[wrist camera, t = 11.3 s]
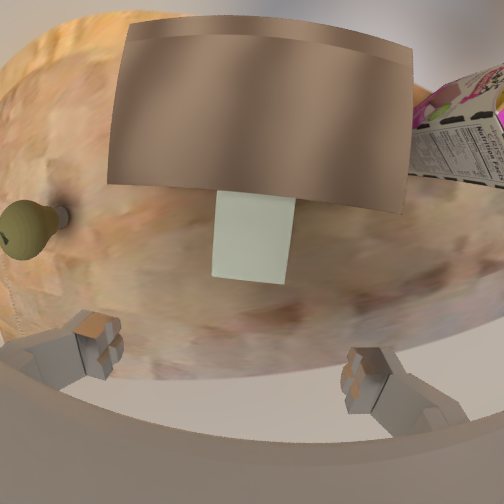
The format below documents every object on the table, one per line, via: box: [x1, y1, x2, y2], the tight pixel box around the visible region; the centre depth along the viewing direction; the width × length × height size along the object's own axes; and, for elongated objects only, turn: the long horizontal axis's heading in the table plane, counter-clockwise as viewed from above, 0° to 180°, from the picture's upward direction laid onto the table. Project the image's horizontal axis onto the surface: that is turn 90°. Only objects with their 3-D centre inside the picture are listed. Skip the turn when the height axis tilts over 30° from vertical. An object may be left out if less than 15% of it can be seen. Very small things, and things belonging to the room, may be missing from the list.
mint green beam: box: [211, 190, 296, 285], centre depth 23 cm, size 6×16×4 cm, turn 174°
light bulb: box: [0, 200, 69, 260], centre depth 22 cm, size 6×6×10 cm
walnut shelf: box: [107, 15, 413, 215], centre depth 19 cm, size 18×11×10 cm, turn 84°
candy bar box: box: [408, 63, 504, 189], centre depth 15 cm, size 11×5×16 cm, turn 131°
